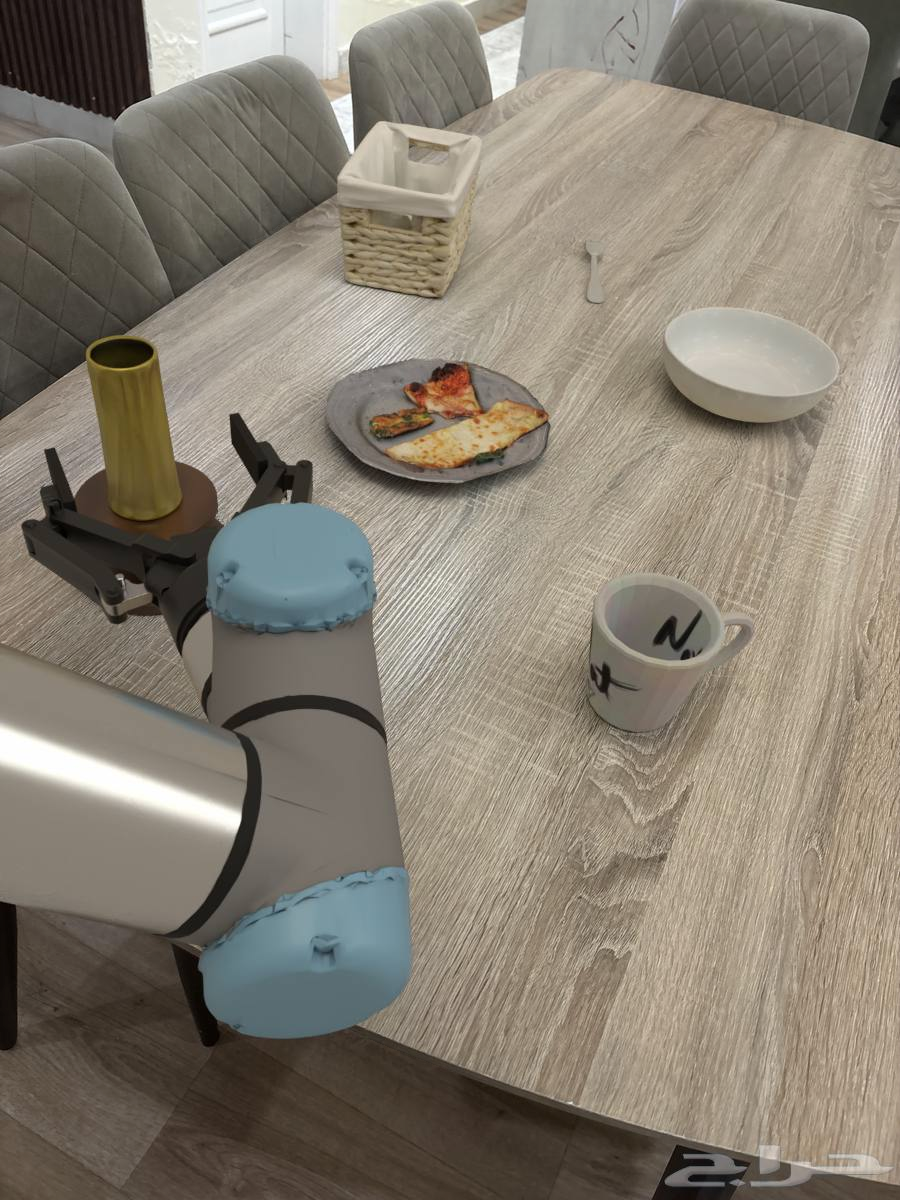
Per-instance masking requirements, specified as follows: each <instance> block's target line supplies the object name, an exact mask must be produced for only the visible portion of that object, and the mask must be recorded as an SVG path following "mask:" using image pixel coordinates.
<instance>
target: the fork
mask: <svg viewBox="0 0 900 1200" xmlns="http://www.w3.org/2000/svg"><path fill="white" fill-rule="evenodd" d="M590 240H591V241H590ZM598 241H599V242H598ZM585 250H586V252H587V253H589V252H590V253H598V254H600V255H602V254H603V253H604V252H605V243H604V242H603V241H602V240H595V242H594V239H588V240H586V239H585ZM601 253H602V254H601ZM598 269H599V268H598V259H597V260H596V259H592V258H591V257H590V276H589V281H588V284H587V289H586V299H587V301H589V302H590V303H592V304H601V303H603V302H604V300H605V291H604V289H603V285H602V283H601V278H600V275H599V270H598Z"/></svg>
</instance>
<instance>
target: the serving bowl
mask: <svg viewBox="0 0 900 1200" xmlns="http://www.w3.org/2000/svg"><path fill="white" fill-rule="evenodd" d="M662 338H663V339H662V359H663V364H664V368H665V371H666V373H667V376H668V377H669V379H670V380H671V382H672V383H673V385H674V386H675V387H676V389H677V390H678V391H679V392H680V393H681V394H682V395H683V396H684V397H686V398H687V399H688V400H689V401H690V402H692V403H693V404H695V405H697V406H698V407H700V408H701V409H703V410H706V411H707V412H710V413H712V414H715V415H717V416H721V417H723V418H727V419H730V420H735V421H739V422H745V423H776V422H782V421H785V420H789V419H793V418H796V417H799V416H801V415H802V414H805V413H807V412H808V411H810V410H812V409H813V408H814V407H816V406H817V405H818V404H819V403H820V402H822V400H823V399H824V398H825V397H826V396H827V395H828V393H829V392H830V391H831V389H832V387H833V386H834V384H835V383H836V381H837V380H838V378H839V375H840V362H839V360H838V357H837V355H836V354H835V353H834V351H833V349H831V347H830V346H829V345H828V344H827V343H826V342H825V341H824V340H823V339H822V338H820V337H819V336H818V335H817V334H815V333H813V332H812V331H811V330H808V329H807V328H806V327H803V326H801V325H799V324H798V323H795V322H793V321H792V320H791V321H790V320H788V319H785V318H783V317H781V316H777V315H774V314H771V313H767V312H763V311H759V310H756V309H755V310H754V309H749V308H742V307H732V306H709V307H700V308H695V309H691V310H688V311H685V312H683V313H681V314H678V315H677V316H675V317H674V318H673V319H671V320H670V321H669V322H668V323H667V325H666V327H665V329H664V332H663V336H662Z"/></svg>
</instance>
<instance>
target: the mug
mask: <svg viewBox="0 0 900 1200" xmlns="http://www.w3.org/2000/svg"><path fill="white" fill-rule="evenodd" d="M732 626H739V627H740V630H739V632H738V633H737V635H736V636H735V637H734V638H733V639H732V640H731V641H730V642H729V643H728V644H727V645H725V646H724V647H723V645H724V644H725V640H726V630H725V629H726V628H727V627H732ZM755 633H756V631H755V623H754V618H753V617H751V616H750V615H748V614H747V613H745V612H743V611H726V612H720V610H719V608H718V606H717V605H715V603H714V602H713V601H712V600H711V599H710V598H709V596H707V595H706V593H704V592H703V591H701V590H699V589H698V588H697V587H695V586H693V585H692V584H691V583H688V582H687V581H684V580H682V579H679V578H676V577H674V576H671V575H668V574H662V573H657V572H653V571H642V572H641V571H637V572H635V571H633V572H628V573H625V574H621V575H618V576H615V577H613V578H612V579H610V580H609V581H607V582H606V583H604V584H602V587H601V588H600V589H599V591H598V592H597V594H596V595H595V597H594V598H593V604H592V613H591V626H590V639H589V654H588V664H587V665H588V666H587V679H586V680H587V681H586V694H587V698H588V701H589V704H590V706H592V708H593V710H594V711H595V713H596V714H597V716H599V717H600V718H601V719H603V720H604V721H605V722H607V724H610V725H611V726H614V727H616V728H618V729H620V730H623V731H628V732H633V733H645V732H646V733H647V732H652V731H654V730H657V729H661V728H662V727H663V726H665V725H666V724H667V723H668V722H670V721H671V720H672V719H673V717H674V716H675V715H676V713H677V711H679V709H680V707H681V706H682V705H683V703H684V702H685V701H686V700H687V698H688V697H689V695H690V694H691V693H692V691H693V689H694V688H695V687H696V685H697V684H698V683H699V681H700V680H701V679H702V678H703V676H704V675H705V674H708V673H710V672H711V671H714V670H715V669H717V668H720V667H721V666H722V665H725V664H726V663H727V662H729V661H731V660H732V659H733V658H735V657H736V656H737V655H739V654H740V653H741V652H742V650H743V649H745V648H746V647H747V645H748V644H749V643H750V642H751V641H752V638H753V637H754V635H755Z"/></svg>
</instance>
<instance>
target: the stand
mask: <svg viewBox="0 0 900 1200" xmlns="http://www.w3.org/2000/svg"><path fill="white" fill-rule="evenodd" d="M175 464H176V470H177V475H178V480H179V485H180V489H181V492H182V500H181V502H180V504H179V506H178V507H177V508H176V509H175V510H174V511H173V512H171V513H170V514H168V515H166V516H164V517H162V518H158V519H154V520H147V521H138V520H131V519H127V518H124V517H121V516H119V515H118V514H116V513H115V512H114V511H113V510H112V509H111V507H110V506H109V502H108V492H109V491H108V481H107V476H106V469H105V468H104V469H101V470H100V471H98V472H96V473H94V474H93V475H91V476H90V477H89V478H87V479H86V480H85V481H84V482H83V484H81V485H80V487H79V488H78V490H77V491H76V493H75V495H74V499H75V503H76V507H77V512H78V513H79V514H82V515H85V516H87V517H90V518H93V519H96V520H98V521H101V522H104V523H106V524H109V525H112V526H115V527H117V528H120V529H123V530H126V531H128V532H131V533H134V534H136V535H139V536H142V535H143V534H144V533H149V534H151V535H154V536H157V537H160V538H162V539H165V540H168V541H170V540H171V536H175V535H179V534H188V533H196V532H198V531H200V530H203V529H205V528H209V527H213V526H216V527H217V529H222V528H223V527H224V526H225V525H224V524H223V523H222V522H221V521H219V520H218V519H217V518H216V517H217V515H218V511H219V500H218V491H217V489H216V486H215V485H214V483H213V481H212V480H211V479H210V477H209V476H208V475H206V474H205V473H204V472H202V471H201V470H200V469H198V468H196V467H194V466H192V465H189V464H187V463H184V462H181V461H178V460H177V461H176V460H175ZM155 558H156V556H155ZM98 561H100V560H98ZM100 562H101V563H103V564H104V565H105V566H107V567H108V568H109V569H110V570H111V571H112V572H113V574H114V575H117V574H123V575H124V577H125V579H127V580H129V581H130V582H131V583H133V584H142V583H144V582H142V581H141V580H140V579H139V578H138V577H137V576H136V575H135V574H134V573H131V572H129V571H126V570H124V569H121V568H118V567H116V566H113V565H110V564H108V563H105V562H102V561H100ZM95 603H96V604H98V603H97V602H95ZM127 614H128V615H134V616H135V615H136V616H157V615H163V614H162V612H161V611H160V610H159V609H158V608H157V607H155V606H153V605H152V604H151V603H148V604H146V605H143V606H140V607H137V608H134V609H131V610H128V611H127Z"/></svg>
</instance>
